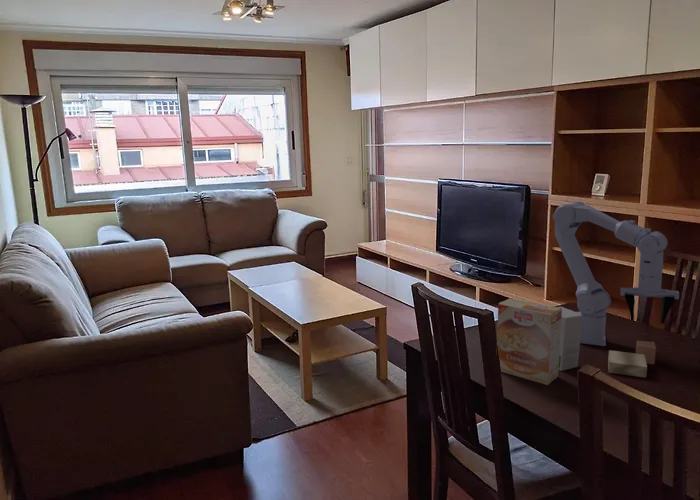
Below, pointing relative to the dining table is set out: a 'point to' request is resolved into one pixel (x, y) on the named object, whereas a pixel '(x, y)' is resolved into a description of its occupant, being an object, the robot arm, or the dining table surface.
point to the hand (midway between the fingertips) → (647, 320)
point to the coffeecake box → (529, 340)
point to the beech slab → (627, 363)
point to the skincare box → (569, 339)
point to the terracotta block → (646, 350)
